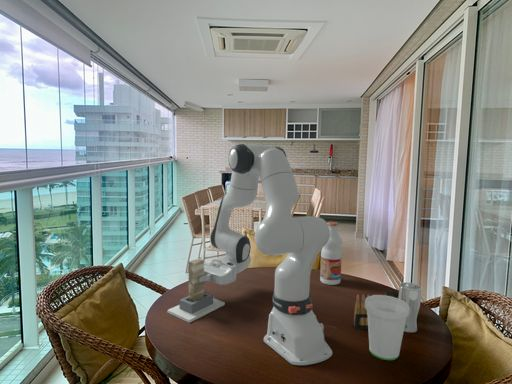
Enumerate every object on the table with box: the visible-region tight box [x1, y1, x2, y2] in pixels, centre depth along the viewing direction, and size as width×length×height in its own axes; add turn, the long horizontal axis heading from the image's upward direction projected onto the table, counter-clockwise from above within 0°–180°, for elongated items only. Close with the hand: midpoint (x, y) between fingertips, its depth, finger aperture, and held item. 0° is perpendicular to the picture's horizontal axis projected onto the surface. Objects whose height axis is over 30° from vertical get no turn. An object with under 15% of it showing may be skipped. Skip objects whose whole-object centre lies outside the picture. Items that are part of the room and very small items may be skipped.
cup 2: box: [365, 294, 410, 361], centre depth 100 cm, size 12×12×15 cm
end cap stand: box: [166, 291, 226, 324], centre depth 127 cm, size 12×18×4 cm, turn 143°
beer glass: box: [398, 281, 422, 334], centre depth 114 cm, size 7×7×15 cm
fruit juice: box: [319, 221, 343, 286], centre depth 155 cm, size 9×9×28 cm
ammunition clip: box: [352, 293, 375, 330], centre depth 114 cm, size 11×2×12 cm, turn 87°
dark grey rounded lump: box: [384, 288, 399, 298], centre depth 125 cm, size 8×7×8 cm
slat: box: [187, 258, 205, 302], centre depth 126 cm, size 3×5×15 cm, turn 143°
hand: (194, 278), depth 125 cm, fingers closed on slat, 3 cm apart
